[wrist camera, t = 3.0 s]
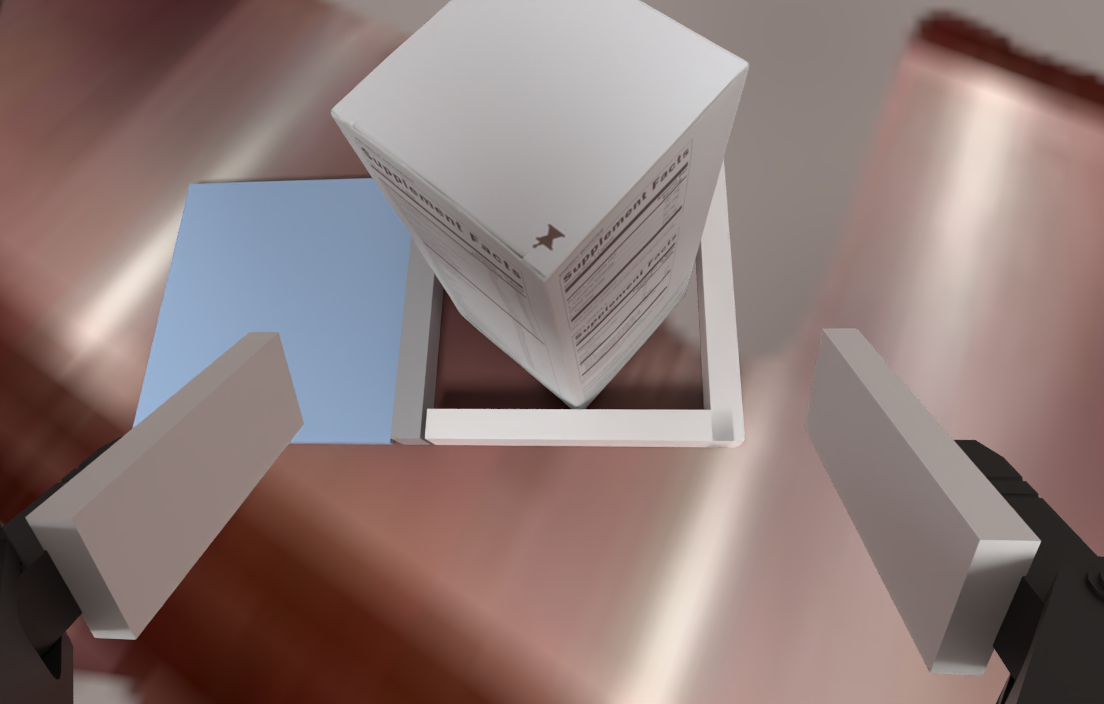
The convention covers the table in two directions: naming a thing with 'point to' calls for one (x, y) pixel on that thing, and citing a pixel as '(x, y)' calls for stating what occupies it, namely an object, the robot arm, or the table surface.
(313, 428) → the bay rack
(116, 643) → the table surface
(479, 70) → the supplement box
